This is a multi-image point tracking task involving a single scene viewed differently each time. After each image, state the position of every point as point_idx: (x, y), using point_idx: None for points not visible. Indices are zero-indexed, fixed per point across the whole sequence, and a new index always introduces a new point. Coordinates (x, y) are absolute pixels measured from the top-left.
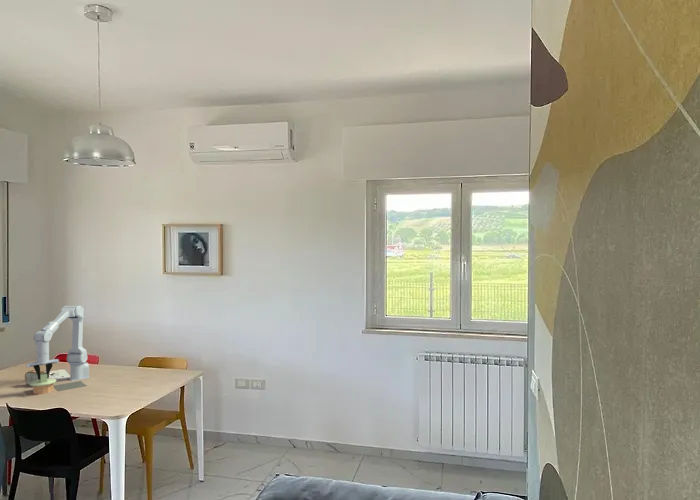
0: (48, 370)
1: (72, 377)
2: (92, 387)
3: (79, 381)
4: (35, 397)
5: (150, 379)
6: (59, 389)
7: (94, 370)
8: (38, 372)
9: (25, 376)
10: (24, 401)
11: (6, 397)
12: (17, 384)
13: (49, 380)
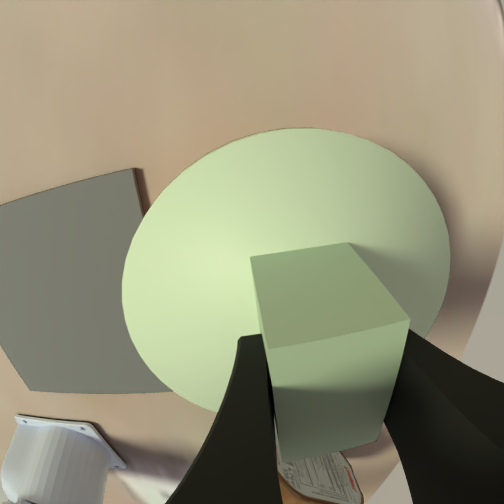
0: (241, 459)
1: (88, 448)
2: None
3: (32, 383)
4: (358, 80)
5: None
6: (122, 237)
7: None
8: (468, 386)
9: (358, 490)
10: (435, 21)
11: (496, 251)
12: (364, 463)
13: (216, 327)
